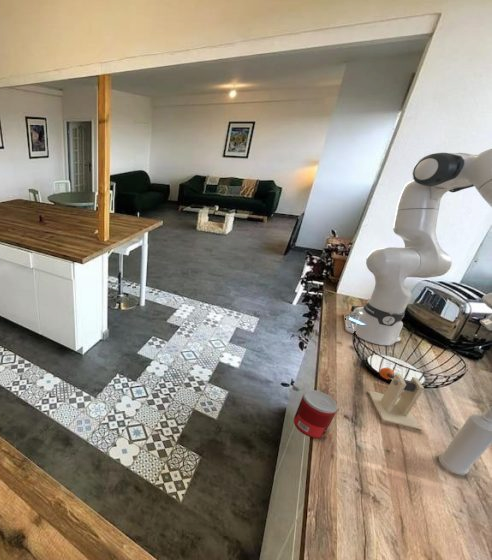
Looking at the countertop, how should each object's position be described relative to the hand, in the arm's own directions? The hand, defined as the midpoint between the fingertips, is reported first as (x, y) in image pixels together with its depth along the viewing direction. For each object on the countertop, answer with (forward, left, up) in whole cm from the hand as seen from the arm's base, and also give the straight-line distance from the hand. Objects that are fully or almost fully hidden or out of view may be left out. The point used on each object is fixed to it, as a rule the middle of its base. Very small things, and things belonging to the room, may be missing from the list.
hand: (484, 325), depth 86 cm
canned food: (+26, -39, -30) cm, 56 cm away
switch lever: (+5, -14, -22) cm, 27 cm away
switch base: (+10, -14, -29) cm, 34 cm away
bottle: (+26, -7, -30) cm, 40 cm away
